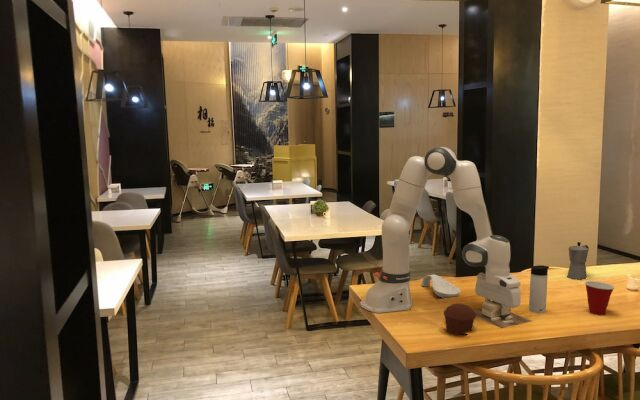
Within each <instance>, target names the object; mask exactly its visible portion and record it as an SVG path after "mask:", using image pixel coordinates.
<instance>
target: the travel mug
mask: <svg viewBox="0 0 640 400" xmlns="http://www.w3.org/2000/svg"><path fill="white" fill-rule="evenodd" d="M549 268H550V266H548V265H542V264H541V265H538V264H537V265H533V266H532V267H530V276H529V277H530V280H529V281H530V282H529V299H528V300H529V301H528V311H529V312H531V313H535V314H546V311H547V294H548V278H549V277H548V275H549V274H548V271H549V270H548V269H549Z"/></svg>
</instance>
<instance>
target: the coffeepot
mask: <svg viewBox="0 0 640 400" xmlns="http://www.w3.org/2000/svg"><path fill="white" fill-rule="evenodd" d="M576 243H577V245H571V246H569V247H568V254H569V255H568V256H569V261H570V263H569V268H568V270H567V271H568V272H567V278H568V279H570V278H571V279H570V280H575V279H577V281H583V280H582V279H586V278H587V277H588V274H587V266H586V262H587V259H588V256H589V255H588V253H589V246H588V244H585V245H582V242H580V241H577V242H576ZM586 280H587V279H586Z"/></svg>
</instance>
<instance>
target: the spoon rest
mask: <svg viewBox="0 0 640 400" xmlns="http://www.w3.org/2000/svg"><path fill="white" fill-rule="evenodd" d="M420 285H421V287H423V286H425V287H430V286H432V289H433V292H434V294H435V295H436V296H438V297H439V298H440V297H441V298H440V299H449V298H453V297H454V298H455V297H458V296H459V295H460V294H461V293H462V292H461V289H460V288H459V287H458V286H456V285H454V284H453V283H450V281H447V280H446V279H445V278H443V277H441V276H439V275H438V274H427V275H425V276H424V277H423V279H422V281H421V284H420Z"/></svg>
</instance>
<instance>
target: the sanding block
mask: <svg viewBox="0 0 640 400" xmlns="http://www.w3.org/2000/svg"><path fill="white" fill-rule="evenodd" d="M481 308H482V316H485V317H487V318H490V319H491V318H494V317H503V316H508V315H510V313H512V312H511V309H512V308H511V307H508V308H507V310H506V314H505V315H501V314H499V313H500V310H502V308H503V307H502V304H500V303H498V302H495V301H492V300H490V301H489V302H485V301H484V302H482V303H481Z"/></svg>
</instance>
